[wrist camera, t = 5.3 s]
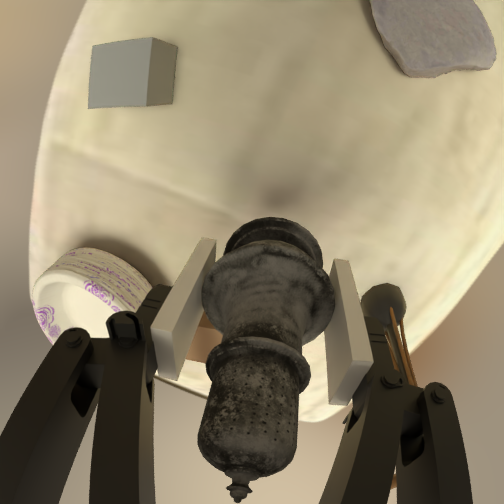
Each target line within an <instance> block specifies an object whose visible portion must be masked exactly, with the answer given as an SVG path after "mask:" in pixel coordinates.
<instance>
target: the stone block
mask: <svg viewBox="0 0 504 504" xmlns="http://www.w3.org/2000/svg"><path fill="white" fill-rule="evenodd" d="M369 1H370V4H371V9H372V15H373V17H374V20H375V24H376V27H377V30H378V32H379V33H380V35H381V39H382V41H383V45H384V46H385V48H386V49H387V50H388V51H389V53H390V54H391V55H392V56H393V57H394V59H395V60H396V62H397V63H398V65H399V66H400V68H401V69H402V70H403V72H404V73H405V74H406V75H408V76H409V77H415V78H417V77H425V78H435V77H437V76H439V75H441V74H447V73H448V72H451V71H453V70H477V71H480V70H488V69H490V68H491V67H492V65H493V63H494V61H495V60H496V54H497V53H496V48H495V44H494V38H493V36H492V33H491V30H490V28H489V26H488V24H487V22H486V20H485V18H484V16H483V14H482V12H481V11H480V9H479V8H478V6H477V5H476V4H475V2H474V1H473V0H369Z"/></svg>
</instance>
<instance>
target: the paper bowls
mask: <svg viewBox="0 0 504 504" xmlns="http://www.w3.org/2000/svg"><path fill="white" fill-rule="evenodd" d="M152 288H153V287H152V286H151V284H150V283H149V282H148V281H147V280H146V279H145V278H144V277H143V275H142V274H141V273H140V272H138V271H137V270H136V269H135V268H134V267H132V266H131V265H130V264H128V263H127V262H125V261H124V260H122V259H120V258H118V257H116V256H114V255H113V254H111V253H108V252H106V251H103V250H99V249H96V248H77V249H74V250H71V251H69V252H67V253H66V254H65V255H63V256H62V257H61V258H59V259H58V260H57V261H56V262H55V263H54V264H53V265H52V266H51V267H50V268H48V269H47V270H46V271H45V272H44V273H43V274H42V275H41V276H40V277H39V278H38V279H37V280H36V282H35V285H34V288H33V293H32V301H33V308H34V312H35V315H36V318H37V320H38V322H39V324H40V326H41V328H42V330H43V332H44V333H45V335H46V336H47V338H48V339H49V341H50V342H51V343H52V345H54V343H55V342H56V340H57V339H58V337H59V336H60V335H61V334H62V333H63V332H64V331H65V330H67V329H69V328H74V327H79V328H83V329H85V330H87V332H88V333H89V334H90V337H91V338H109V334H108V330H107V327H106V321H107V319H108V317H110V316H111V315H112V314H114V313H116V312H119V311H132V312H135V313H136V311H137V310H138V308H139V306H141V303H142V302H143V300H145V297H146V295H147V294H148V292H149V291H150V290H151V289H152ZM155 373H156V372H155Z"/></svg>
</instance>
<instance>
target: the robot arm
mask: <svg viewBox="0 0 504 504" xmlns="http://www.w3.org/2000/svg"><path fill="white" fill-rule="evenodd" d="M215 257H216V240H213V239H207V238H201V240H200V241H199V243H198V245H197V246H196V248H195V250H194V251H193V253H192V255H191V256H190V258H189V260H188V262H187V263H186V265H185V267H184V268H183V270H182V272H181V274H180V275H179V277H178V279H177V280H176V282H175V284H174V286H173V287H170V286H165V285H160V284H158V285H157V286H155V287H154V288H152V289H151V290H150V291H149V292H148V294H147V295H146V297H145V300H143V302H142V303H141V306H139V308H138V310H137V311H136V313H135V312H132V311H119V312H116V313H114V314H112V315H111V316H110V317H108V319H107V321H106V327H107V330H108V334H109V338H91V337H90V334H89V333H88V332H87V330H85V329H83V328H79V327H74V328H69V329H67V330H65V331H64V332H63V333H62V334H61V335H60V336H59V337H58V339H57V340H56V342H55V343H54V345H53V346H52V348H51V349H50V351H49V353H48V354H47V356H46V357H45V359H44V360H43V362H42V364H41V365H40V367H39V368H38V370H37V371H36V373H35V375H34V376H33V378H32V380H31V381H30V383H29V385H28V387H27V388H26V390H25V391H24V393H23V395H22V397H21V398H20V400H19V402H18V404H17V406H16V407H15V409H14V411H13V413H12V414H11V416H10V418H9V420H8V422H7V424H6V426H5V428H4V430H3V432H2V434H1V436H0V504H59V501H60V498H61V495H62V492H63V489H64V486H65V483H66V481H67V478H68V475H69V472H70V470H71V467H72V465H73V462H74V459H75V457H76V454H77V452H78V449H79V447H80V444H81V442H82V439H83V437H84V434H85V432H86V429H87V427H88V424H89V422H90V420H91V418H92V415H93V413H94V411H95V408H96V406H97V404H98V408H97V415H96V422H95V431H94V440H93V448H92V459H91V473H90V490H89V504H155V503H156V502H155V484H154V449H153V448H154V447H153V424H154V385H155V384H154V379H153V377H154V375H155V372H156V370H158V375H159V376H160V377H163V378H167V379H171V380H175V381H177V380H178V377H179V375H180V372H181V369H182V367H183V364H184V361H185V359H186V356H187V353H188V351H189V348H190V345H191V343H192V340H193V338H194V335H195V332H196V330H197V327H198V325H199V322H200V319H201V317H202V314H203V312H204V309H203V306H202V294H201V291H202V286H203V282H204V278H205V276H206V274H207V273H208V271H209V270H210V268H211V267H212V265H213V264H214V263H215ZM329 278H330V281H331V283H332V285H333V287H334V291H335V304H336V305H335V309H334V312H333V316H332V319H331V321H330V322H329V324H328V326H327V327H326V329H325V330H324V334H325V347H326V361H327V378H328V398H329V405H346V406H347V405H348V403H349V402H350V400H351V399H352V401H353V408H352V409H351V411H350V412H349V414H348V415H347V416H346V418H345V419H344V421H343V424H345V423H346V426H345V429H344V433H343V436H342V439H341V443H340V446H339V449H338V452H337V455H336V458H335V461H334V464H333V467H332V470H331V473H330V475H329V478H328V481H327V484H326V486H325V489H324V492H323V494H322V497H321V499H320V502H319V504H387V501H388V497H389V493H390V489H391V485H392V480H393V475H394V470H395V465H396V482H397V504H473V500H472V492H471V484H470V477H469V470H468V464H467V458H466V453H465V448H464V443H463V438H462V433H461V429H460V424H459V420H458V416H457V412H456V408H455V405H454V401H453V397H452V394H451V392H450V390H449V389H448V388H447V387H446V386H445V385H443V384H441V383H438V382H433V383H429V384H428V385H427V386H426V387H425V388H424V389H423V388H420V387H417V386H413V385H410V384H408V383H406V381H405V378H404V377H403V375H402V374H401V373H400V372H399V371H397V370H395V369H394V365H393V361H392V357H391V353H390V350H389V346H388V344H387V339H386V336H385V332H384V328H383V326H382V324H381V323H380V322H379V320H378V319H377V318H376V317H367V316H363V312H362V308H361V304H360V301H359V297H358V293H357V289H356V285H355V282H354V278H353V274H352V271H351V267H350V264H349V261H347V260H340V259H334V261H333V265H332V268H331V272H330V275H329Z"/></svg>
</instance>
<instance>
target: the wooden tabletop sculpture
mask: <svg viewBox="0 0 504 504" xmlns="http://www.w3.org/2000/svg"><path fill="white" fill-rule="evenodd" d="M361 308H362V312H363V316H367V317H376V318H377V319H378V320H379V322H380V323H381V324H382V326H383V328H384V332H385V335H386V337H387V338H386V339H387V340H388V341H387V344H388V346H389V350H390V353H391V357H392V361H393V365H394V369H395V370H397V371H399V372H400V373H401V374H402V375H403V377H404V378H405V381H406V383H408V384H410V385H413V386H417V382H416V379H415V375H414V372H413V368H412V364H411V360H410V356H409V353H408V349H407V344H406V339H405V334H404V326H403V317H404V315H405V312H406V302H405V299H404V297H403V295H402V293H401V290H400V288H399V287H397V286H394V285H391V284H388V283H386V284H382V285H378V286H373V287H372V288H371V289H370V290H369V291H368V292H367V293H365V294H364V295H363V296H362V299H361ZM398 325H400V330H401V337H402V342H401V338H400V334H399V331H398V327H397V326H398ZM388 342H389V343H388ZM402 343H403V345H402ZM389 344H390V345H389ZM403 348H404V349H403ZM417 387H418V386H417ZM395 487H397V482H396V474H394V475H393V480H392V485H391V489H393V488H395Z"/></svg>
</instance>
